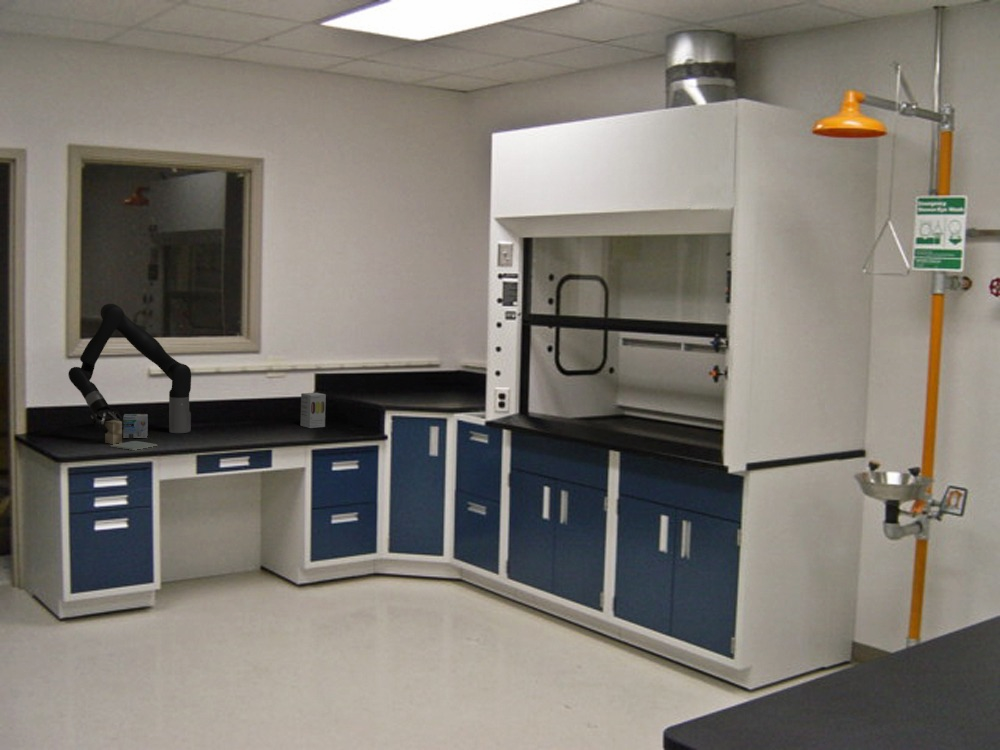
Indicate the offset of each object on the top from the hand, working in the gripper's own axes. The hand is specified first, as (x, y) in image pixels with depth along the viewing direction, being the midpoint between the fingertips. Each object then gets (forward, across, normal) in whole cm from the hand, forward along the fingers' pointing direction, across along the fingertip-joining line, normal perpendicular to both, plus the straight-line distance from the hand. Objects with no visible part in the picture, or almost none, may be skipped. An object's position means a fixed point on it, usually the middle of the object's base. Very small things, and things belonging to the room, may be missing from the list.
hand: (114, 431), depth 483 cm
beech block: (+4, 0, +4) cm, 6 cm away
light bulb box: (+1, +16, +8) cm, 18 cm away
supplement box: (+28, +96, -20) cm, 102 cm away
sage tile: (+13, 0, -5) cm, 14 cm away
